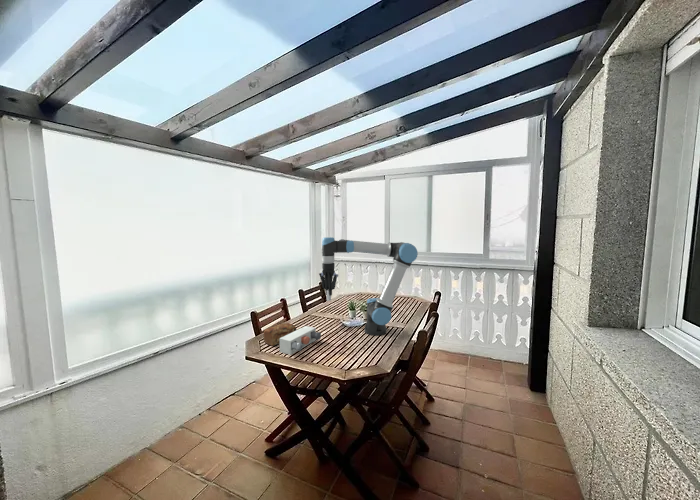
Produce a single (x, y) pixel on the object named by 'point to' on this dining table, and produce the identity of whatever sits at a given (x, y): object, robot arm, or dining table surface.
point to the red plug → (305, 340)
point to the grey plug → (316, 335)
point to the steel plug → (297, 346)
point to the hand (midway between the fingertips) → (328, 300)
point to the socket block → (295, 339)
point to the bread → (277, 333)
